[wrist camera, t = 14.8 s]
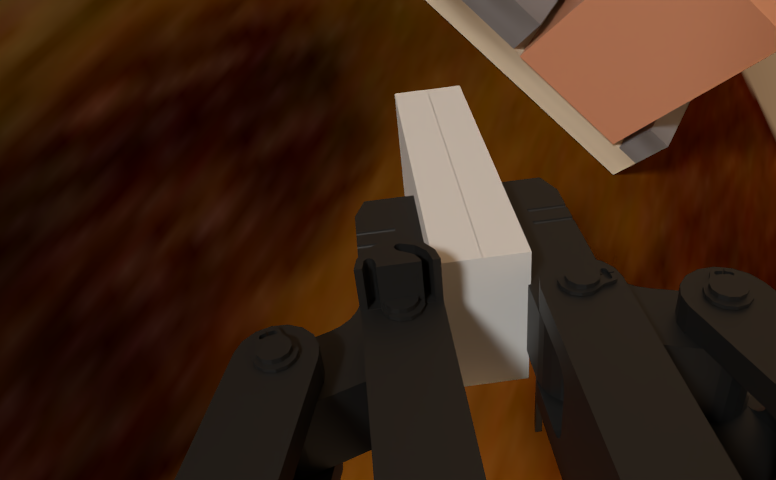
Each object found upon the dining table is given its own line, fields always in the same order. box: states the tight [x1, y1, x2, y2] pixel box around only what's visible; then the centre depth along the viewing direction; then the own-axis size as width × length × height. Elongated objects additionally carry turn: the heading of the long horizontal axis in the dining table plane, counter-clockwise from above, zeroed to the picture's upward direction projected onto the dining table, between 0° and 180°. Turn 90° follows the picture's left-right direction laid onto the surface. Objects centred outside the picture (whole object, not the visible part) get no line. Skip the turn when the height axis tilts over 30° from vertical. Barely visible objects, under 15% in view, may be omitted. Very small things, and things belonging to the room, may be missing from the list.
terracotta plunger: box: [520, 0, 776, 144], centre depth 29 cm, size 7×6×9 cm
